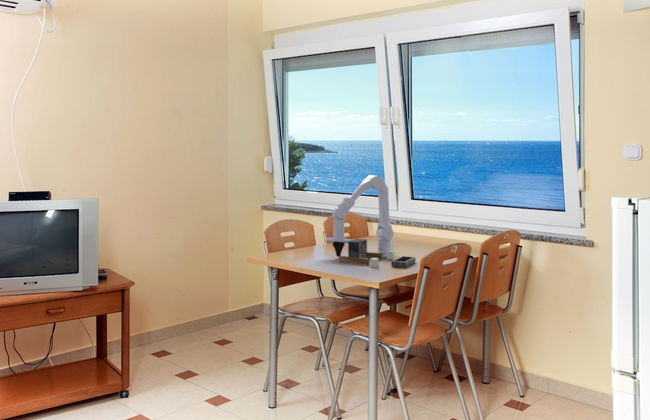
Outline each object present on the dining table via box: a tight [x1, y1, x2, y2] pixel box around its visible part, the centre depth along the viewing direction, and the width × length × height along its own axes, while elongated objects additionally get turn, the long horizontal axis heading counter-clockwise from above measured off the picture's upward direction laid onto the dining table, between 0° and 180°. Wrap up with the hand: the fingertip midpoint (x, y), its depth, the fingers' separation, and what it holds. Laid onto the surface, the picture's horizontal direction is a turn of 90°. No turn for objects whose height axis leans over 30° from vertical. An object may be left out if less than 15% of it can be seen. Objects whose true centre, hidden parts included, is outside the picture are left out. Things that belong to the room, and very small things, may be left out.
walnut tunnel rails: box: [338, 251, 384, 266], centre depth 325 cm, size 20×16×3 cm
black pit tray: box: [390, 255, 416, 269], centre depth 315 cm, size 16×7×3 cm, turn 154°
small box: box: [347, 238, 368, 258], centre depth 326 cm, size 11×6×10 cm, turn 152°
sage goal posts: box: [370, 250, 396, 268], centre depth 320 cm, size 26×3×4 cm, turn 154°
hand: (338, 256), depth 331 cm, fingers closed
